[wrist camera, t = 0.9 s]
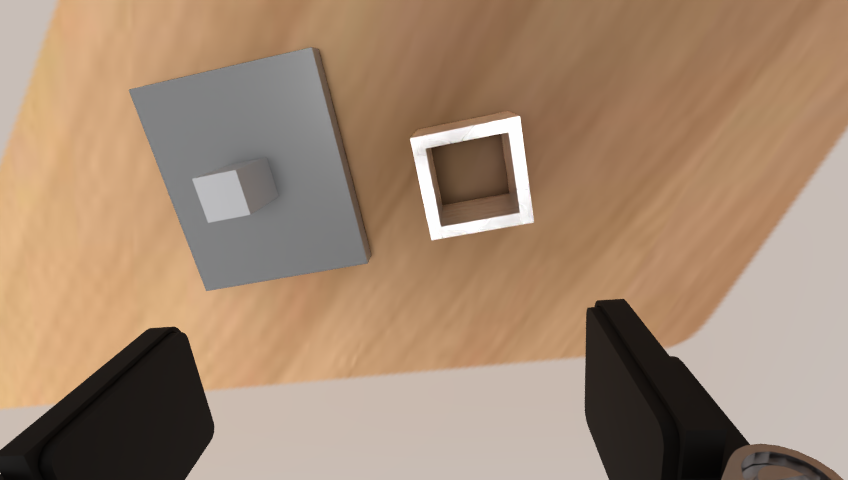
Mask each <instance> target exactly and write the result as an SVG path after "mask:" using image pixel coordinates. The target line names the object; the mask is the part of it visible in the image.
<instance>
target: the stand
mask: <svg viewBox="0 0 848 480" xmlns="http://www.w3.org/2000/svg"><path fill="white" fill-rule="evenodd" d="M129 92H130V95H131V97H132V100H133V102H134V105H135V108H136V110H137V113H138V115H139V118H140V121H141V123H142V126H143V128H144V131H145V133H146V136H147V139H148V141H149V144H150V146H151V149H152V152H153V154H154V157H155V159H156V162H157V165H158V167H159V170H160V172H161V175H162V178H163V180H164V183H165V185H166V188H167V190H168V193H169V196H170V198H171V201H172V203H173V206H174V209H175V211H176V214H177V216H178V219H179V222H180V224H181V227H182V229H183V232H184V234H185V237H186V240H187V242H188V245H189V247H190V250H191V253H192V255H193V258H194V260H195V263H196V266H197V268H198V271H199V273H200V276H201V278H202V281H203V284H204V286H205V289H206V291H210V290H216V289H221V288H227V287H233V286H239V285H245V284H250V283H256V282H262V281H268V280H274V279H280V278H285V277H291V276H297V275H303V274H309V273H314V272H320V271H326V270H332V269H338V268H343V267H349V266H355V265H361V264H367V263H368V262H369V259H370V257H371V252H370V248H369V245H368V241H367V237H366V233H365V229H364V225H363V221H362V217H361V213H360V209H359V205H358V202H357V198H356V194H355V190H354V186H353V182H352V178H351V174H350V170H349V166H348V162H347V159H346V155H345V151H344V147H343V143H342V139H341V135H340V131H339V127H338V123H337V119H336V115H335V112H334V108H333V104H332V100H331V96H330V92H329V88H328V84H327V80H326V76H325V72H324V69H323V65H322V61H321V57H320V53H319V49H317V48H313V47H310V48H306V49H302V50H298V51H293V52H289V53H285V54H280V55H276V56H272V57H267V58H263V59H259V60H254V61H250V62H246V63H242V64H237V65H233V66H229V67H224V68H220V69H216V70H211V71H207V72H203V73H198V74H194V75H190V76H186V77H181V78H177V79H173V80H168V81H164V82H160V83H155V84H151V85H147V86H142V87H138V88H134V89H130V90H129Z"/></svg>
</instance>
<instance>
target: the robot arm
mask: <svg viewBox="0 0 848 480" xmlns="http://www.w3.org/2000/svg"><path fill="white" fill-rule="evenodd" d="M585 415H586V420H587V424H588V427H589V430H590V432H591V435H592V437H593V440H594V442H595V444H596V447H597V450H598V453H599V455H600V458H601V460H602V463H603V465H604V468H605V470H606V473H607V475H608V478H609V480H843V479H842V478H841V477H840V476H839V475H838V474H837V473H836V472H834V471H833V470H832V469H830V468H828V467H827V466H825V465H824V464H822V463H821V462H819V461H817V460H816V459H813V458H811V457H809V456H806V455H805V454H802V453H800V452H798V451H795V450H792V449H788V448H785V447H780V446H776V445H767V444H754V445H750V444H749V443H748V442H747V440H746V439H745V438H744V437H743V435H742V434H741V433H740V432H739V430H738V429H737V428H736V427H735V426H734V424H733V423H732V422H731V421H730V420H729V418H728V417H727V416H726V415H725V413H724V412H723V411H722V410H721V409H720V407H719V406H718V405H717V404H716V402H715V401H714V400H713V399H712V397H711V396H710V395H709V394H708V393H707V391H706V390H705V389H704V388H703V386H701V384H700V383H699V382H698V380H697V379H696V378H695V377H694V375H693V374H692V373H691V372H690V371H689V369H688V368H687V367H686V366H685V364H684V363H683V362H682V361H681V360H680V359H679V358H677V357H673V356H669V355H668V354H667V352H666V351H665V350H664V349H663V347H662V346H661V345H660V343H659V342H658V341H657V340H656V338H655V337H654V336H653V335H652V333H651V332H650V331H649V330H648V328H647V327H646V326H645V324H644V323H643V322H642V321H641V319H640V318H639V317H638V316H637V314H636V313H635V312H634V310H633V309H632V308H631V307H630V305H629V304H628V303H627V302H626V301H625V300H624V299H615V300H599V301H596V303H595V307H591V308H588V309H587V314H586V368H585ZM213 434H214V422H213V419H212V416H211V412H210V409H209V406H208V403H207V399H206V396H205V393H204V389H203V386H202V383H201V380H200V376H199V373H198V370H197V366H196V363H195V360H194V357H193V353H192V350H191V347H190V344H189V340H188V338H187V335H186V334H185V333H183V332H181V331H180V330H179V329H178V328H176V327H163V328H150V329H148V330H146V331H145V332H144V333H142V334H141V335H140V336H139V337H138V338H136V339H135V340H134V341H133V342H131V343H130V344H129V345H128V346H127V347H125V348H124V349H123V350H122V351H121V352H119V353H118V354H117V355H116V356H114V357H113V358H112V359H111V360H110V361H108V362H107V363H106V364H105V365H103V366H102V367H101V368H100V369H99V370H97V371H96V372H95V373H94V374H92V375H91V376H90V377H89V378H88V379H86V380H85V381H84V382H83V383H82V384H80V385H79V386H78V387H77V388H75V389H74V390H73V391H72V392H71V393H69V394H68V395H67V396H66V397H64V398H63V399H62V400H61V401H60V402H58V403H57V404H56V405H55V406H53V407H52V408H51V409H50V410H49V411H47V412H46V413H45V414H44V415H43V416H41V417H40V418H39V419H38V420H36V421H35V422H34V423H33V424H32V425H30V426H29V427H28V428H27V429H25V430H24V431H23V432H22V433H21V434H19V435H18V436H17V437H16V438H15V439H13V440H12V441H11V442H10V443H8V444H7V445H6V446H5V447H4V448H2V449H1V450H0V473H1V474H0V480H185V479H186V477H187V476H188V474H189V473H190V471H191V470H192V468H193V467H194V465H195V464H196V462H197V461H198V459H199V458H200V456H201V455H202V453H203V452H204V450H205V449H206V447H207V446H208V444H209V443H210V441H211V439H212V437H213Z"/></svg>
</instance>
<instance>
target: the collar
mask: <svg viewBox="0 0 848 480" xmlns="http://www.w3.org/2000/svg"><path fill="white" fill-rule="evenodd" d="M496 134H501V139H502V146H503V153H504V159H505V166H506V173H507V180H508V186H509V193H507V194H501V195H496V196H490V197H485V198H479V199H474V200H469V201H463V202H458V203H452V204H447V205H442V201H441V196H440V191H439V186H438V181H437V176H436V171H435V165H434V160H433V155H432V150H431V147H436V146H441V145H446V144H451V143H456V142H461V141H466V140H471V139H476V138H481V137H486V136H491V135H496ZM410 140H411V145H412V150H413V155H414V159H415V164H416V169H417V174H418V178H419V183H420V188H421V193H422V198H423V202H424V207H425V212H426V217H427V221H428V226H429V231H430V236H431V240H436V239H442V238H447V237H453V236H459V235H464V234H470V233H476V232H481V231H487V230H493V229H499V228H504V227H510V226H516V225H521V224H527V223H533V222H534V218H533V211H532V203H531V196H530V188H529V181H528V174H527V166H526V159H525V151H524V144H523V136H522V129H521V121H520V116H518V115H516V114H514V113H512V112H510V111H505V112H500V113H495V114H491V115H486V116H481V117H476V118H471V119H466V120H461V121H456V122H451V123H447V124H442V125H437V126H432V127H427V128H422V129H417V130H416V131H415V132H414V134H413V135H412V137H411V138H410Z"/></svg>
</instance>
